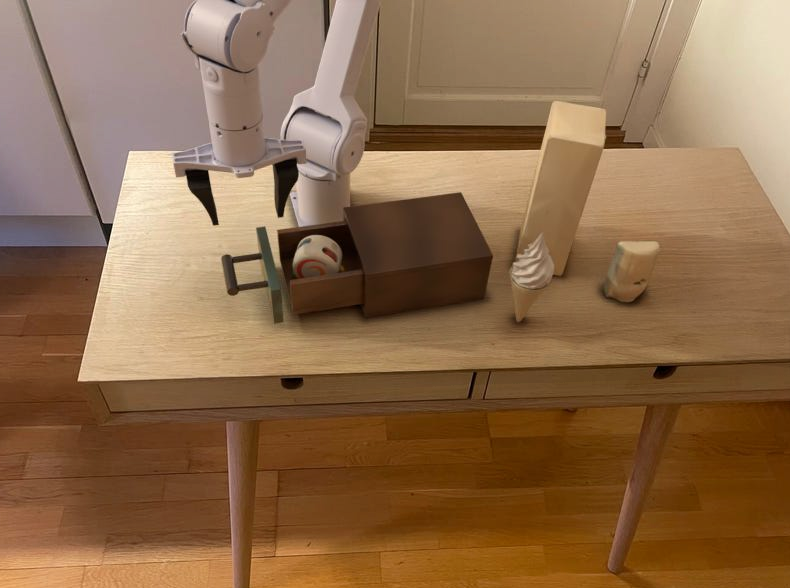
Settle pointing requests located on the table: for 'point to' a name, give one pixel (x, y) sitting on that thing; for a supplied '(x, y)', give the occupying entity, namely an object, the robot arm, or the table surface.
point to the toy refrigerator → (563, 178)
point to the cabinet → (419, 253)
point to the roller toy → (317, 257)
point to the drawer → (305, 290)
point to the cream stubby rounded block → (630, 269)
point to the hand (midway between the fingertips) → (247, 216)
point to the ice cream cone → (530, 276)
